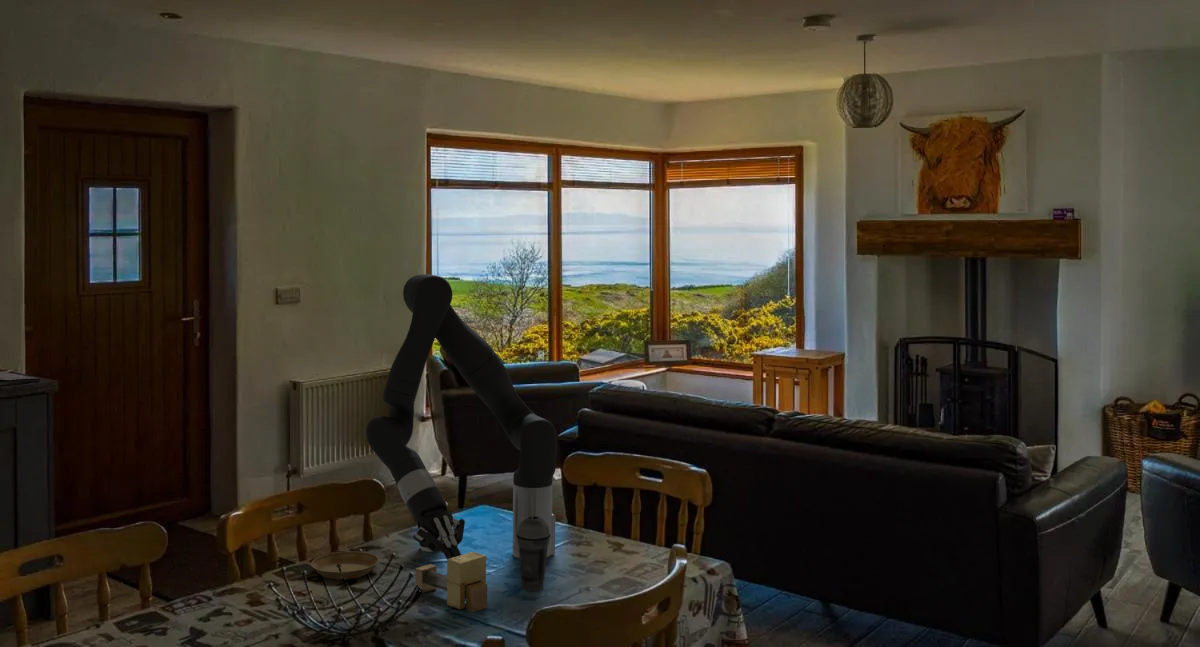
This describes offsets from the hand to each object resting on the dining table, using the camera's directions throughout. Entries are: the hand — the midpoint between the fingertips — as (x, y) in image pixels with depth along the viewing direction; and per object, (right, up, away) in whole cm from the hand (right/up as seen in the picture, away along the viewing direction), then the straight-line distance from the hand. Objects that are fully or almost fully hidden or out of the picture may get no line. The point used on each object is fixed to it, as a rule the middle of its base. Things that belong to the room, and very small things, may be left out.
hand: (458, 564), depth 224 cm
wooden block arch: (+2, -8, -1) cm, 8 cm away
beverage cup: (+15, -7, +10) cm, 19 cm away
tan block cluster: (-2, -8, +2) cm, 8 cm away
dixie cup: (-11, -4, +37) cm, 39 cm away
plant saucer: (-28, -6, +19) cm, 34 cm away
